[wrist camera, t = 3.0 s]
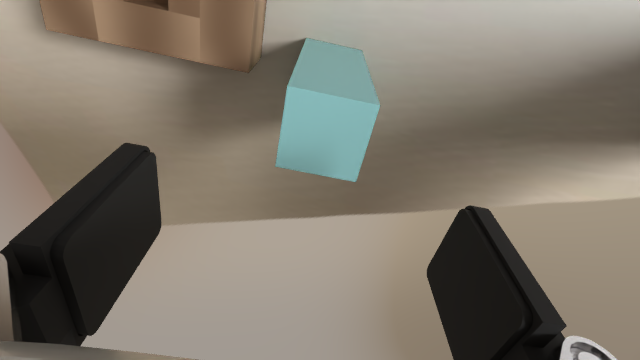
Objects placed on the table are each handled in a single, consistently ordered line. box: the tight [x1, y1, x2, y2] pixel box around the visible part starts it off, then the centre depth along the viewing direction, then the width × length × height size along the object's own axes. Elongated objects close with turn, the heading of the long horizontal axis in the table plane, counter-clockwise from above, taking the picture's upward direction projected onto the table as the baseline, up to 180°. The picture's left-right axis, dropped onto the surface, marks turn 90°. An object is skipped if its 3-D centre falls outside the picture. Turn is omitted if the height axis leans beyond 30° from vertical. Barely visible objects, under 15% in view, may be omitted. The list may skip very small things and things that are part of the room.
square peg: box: [275, 38, 380, 182], centre depth 19 cm, size 4×4×11 cm
